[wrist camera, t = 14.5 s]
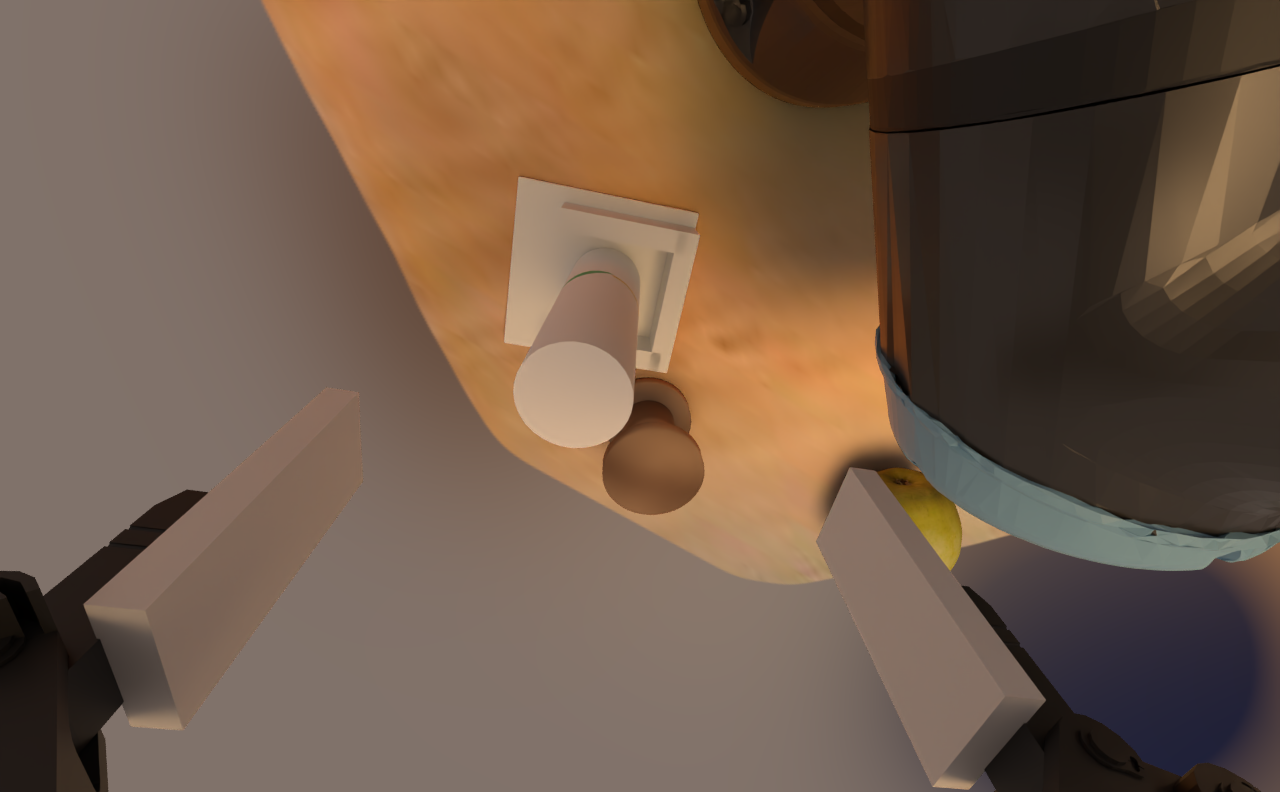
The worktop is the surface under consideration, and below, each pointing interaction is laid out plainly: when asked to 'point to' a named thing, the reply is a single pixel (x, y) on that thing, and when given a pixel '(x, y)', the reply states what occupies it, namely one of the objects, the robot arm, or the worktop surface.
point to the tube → (584, 355)
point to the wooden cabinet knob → (654, 453)
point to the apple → (927, 511)
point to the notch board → (586, 220)
